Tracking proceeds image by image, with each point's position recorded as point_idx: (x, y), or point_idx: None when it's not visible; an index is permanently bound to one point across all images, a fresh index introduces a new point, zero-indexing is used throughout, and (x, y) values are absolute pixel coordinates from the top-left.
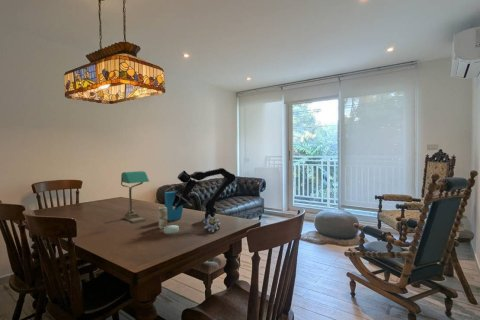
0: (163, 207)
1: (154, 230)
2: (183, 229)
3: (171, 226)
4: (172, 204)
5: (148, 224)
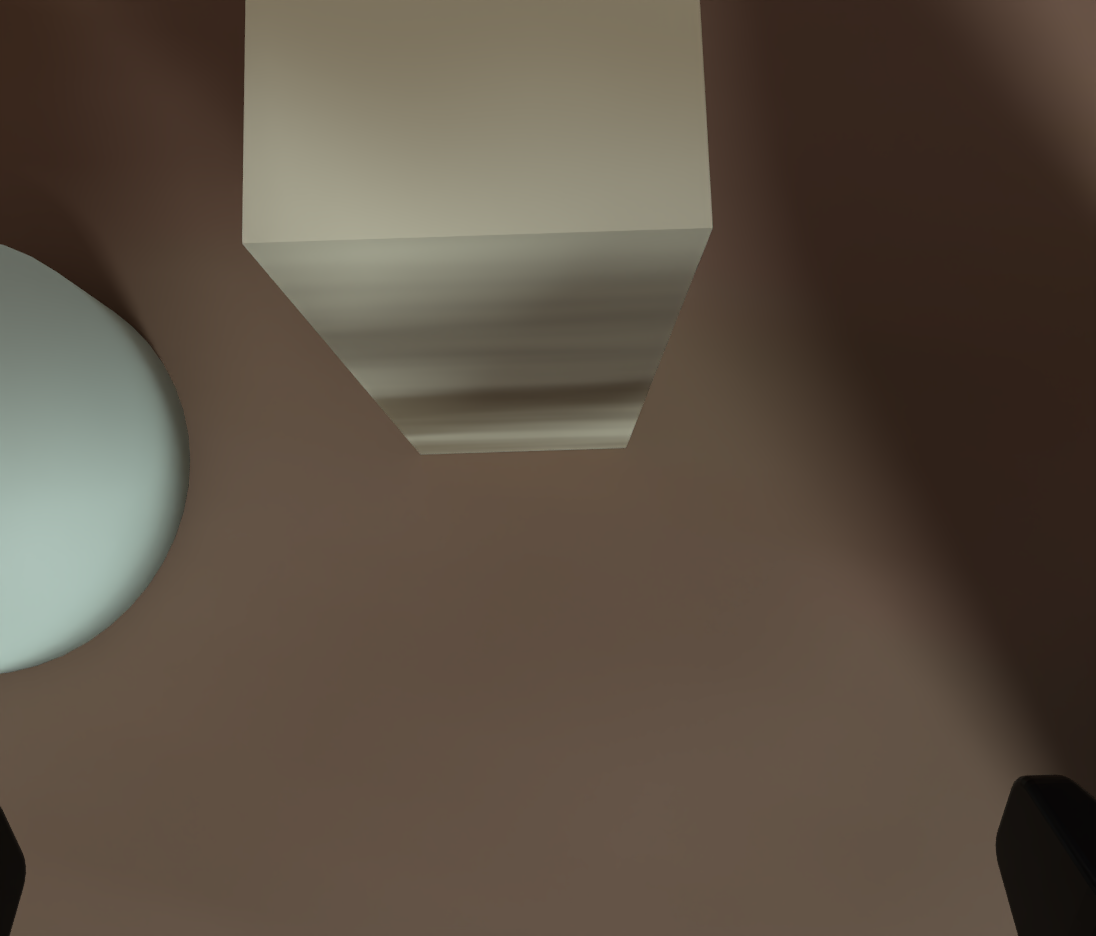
0: (509, 74)
1: None
2: None
3: (2, 476)
4: (1017, 792)
5: (1029, 43)
